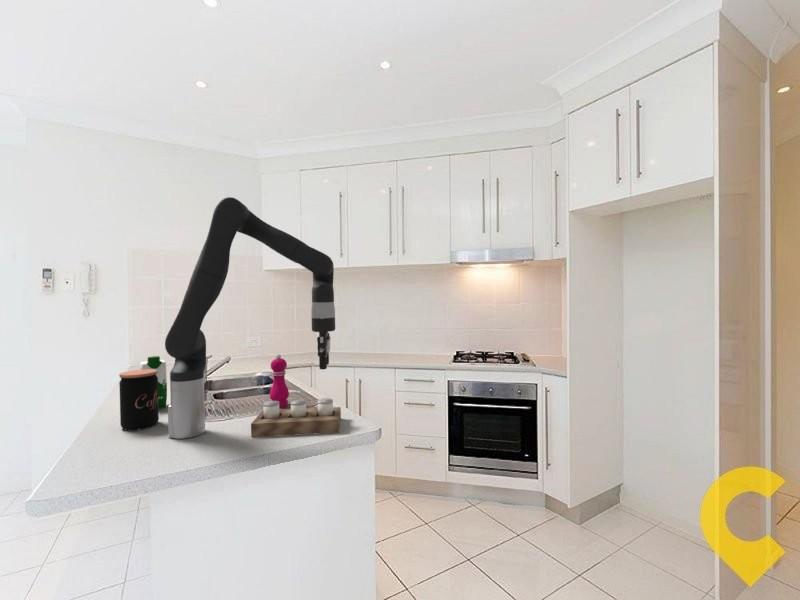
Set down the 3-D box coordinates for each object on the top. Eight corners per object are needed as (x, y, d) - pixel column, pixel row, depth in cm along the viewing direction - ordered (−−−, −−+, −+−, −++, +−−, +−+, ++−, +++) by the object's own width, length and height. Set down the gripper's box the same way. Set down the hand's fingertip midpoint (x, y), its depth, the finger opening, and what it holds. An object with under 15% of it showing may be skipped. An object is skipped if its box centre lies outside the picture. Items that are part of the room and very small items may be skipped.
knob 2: (316, 418, 125) (316, 402, 125) (318, 413, 130) (318, 398, 130) (332, 417, 125) (332, 402, 125) (333, 413, 130) (333, 398, 130)
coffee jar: (136, 432, 125) (135, 375, 125) (112, 429, 128) (111, 374, 128) (166, 422, 135) (165, 369, 135) (143, 419, 138) (142, 368, 138)
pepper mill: (283, 409, 148) (282, 355, 148) (266, 408, 150) (264, 355, 150) (292, 403, 155) (291, 353, 155) (275, 403, 157) (274, 353, 157)
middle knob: (289, 419, 124) (289, 403, 124) (292, 415, 129) (291, 399, 129) (305, 419, 125) (305, 403, 125) (307, 414, 129) (307, 399, 129)
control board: (251, 437, 119) (250, 423, 119) (262, 422, 133) (262, 410, 132) (338, 432, 121) (338, 419, 121) (340, 418, 135) (340, 406, 135)
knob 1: (261, 421, 123) (261, 405, 123) (265, 416, 128) (265, 401, 128) (277, 420, 124) (277, 404, 124) (281, 415, 129) (280, 400, 129)
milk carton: (142, 412, 147) (140, 359, 147) (139, 407, 154) (137, 356, 154) (169, 407, 153) (167, 356, 153) (165, 403, 160) (163, 354, 160)
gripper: (314, 315, 134) (315, 363, 134) (308, 317, 120) (309, 371, 120) (336, 315, 135) (337, 362, 135) (333, 317, 121) (334, 370, 121)
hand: (324, 366), depth 127 cm, fingers open, 8 cm apart
